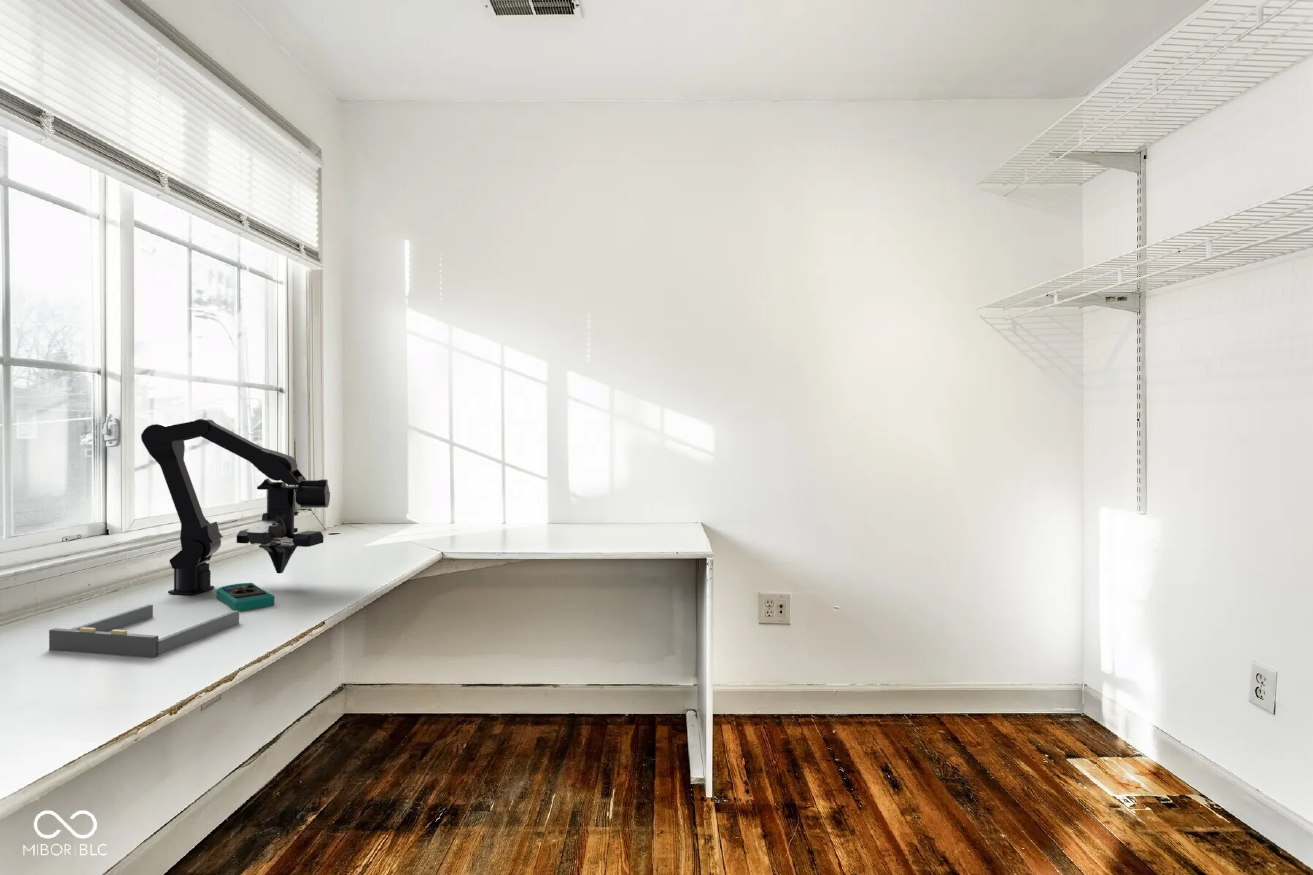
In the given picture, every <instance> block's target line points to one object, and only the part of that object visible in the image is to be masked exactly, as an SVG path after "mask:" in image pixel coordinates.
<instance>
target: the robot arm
mask: <svg viewBox="0 0 1313 875" xmlns="http://www.w3.org/2000/svg"><path fill="white" fill-rule="evenodd" d="M140 436H141V437H140V438H141V442H142V444H143V445H144V447H145V449H146V450H147V452H148V454H149V456H151V458H153V459H154V461H155V462H156V463H157V464H158V465H159V467H160V469H161V472H162V474H163V478H164V480H165V483H166V486H167V488H168V491H169V494H170V496H171V500H172V502H173V505H174V507H175V510H176V513H177V516H178V519H179V521H180V534H179V539H180V540H179V541H180V546H181V547H180V548H181V549H180V550H179V551H178V552H177V553H176V554H175V555H173V557H172V558H170V559H169V564H170V566H171V569H173V589H171V590H168V591H167V593H168V594H173V595H174V594H176V595H189V596H190V595H191V596H192V595H193V596H194V595H196V594H199V593H203V592H206V591H210V590H212V589H215V585H211V573H212V572H211V570H210V563H208V562H210V560H211V559H212V558H213V557H212V556H213V554H216V552H218V550H219V549H220V547H221V545H222V540H221V539H222V538H223V537H224V536H223V535H222V533H220V530H219V524H218V522H217V521H214V522H212V523H211V522H209V520H208V519H206V517H205V516H204V513H203V511H202V507H201V504H200V501H199V499H198V495H197V493H196V491H195V488H194V484H193V482H192V480H191V477H190V473H189V471H188V468H187V465H186V463H185V449H186V448H185V447H186V446H185V441H189V440H192V439H196V438H197V439H198V438H200V437H201V438H203V439H205V440H207V441H209V442H211V443H213V444H215V445H217V446H218V447H221V448H222V449H224V450H226V451H229V453H232V454H234V455H236V456H238V457H240V458H242V459H244V460H246V461H247V462H249V463H250V464H252V465H253V467H255V468H256V469H257V470H258V471H259V472H261V474H263V475H264V476H266V477H267V478H266V479H264V480H263V481H262V482H261V483H260V484H258V485H257V487H256V489H257V490H259V491H260V490H261V491H262V490H263V491H264V490H265V491H266V512H263V513H262V516H261V521H259V522H257V523H255V524H254V525H252V526H251V527H250V528H246V529H243V530H239V531H238V533H237V534H236V539H235V540H236V544H249V543H250V544H251V545H255V544H256V545H257V544H258V548H260V549H263V550H265V551H266V552H267V553H268V555H269V557H270V559H271V562H272V565H273V567H274V569H275V572H276V574H279V575H280V574H283V573H284V572H285V569H286V567H287V565H288V564H289V561H290V559H291V558H292V556H293V554H294V552H295V550H296V549H297V547H303V548H304V547H305V548H308V547H310V548H311V547H313V546H316V545H319V544H323V543H324V534H323V533H322V532H321V531H320V530H318V531H317V530H306V531H300V532H298V527H295V517H296V516H299V511H298V510H295V503H296V505H299V506H300V508H302V509H311V508H312V509H315V508H317V509H319V508H322V509H323V508H324V509H325V508H328V507H329V505H330V499H331V492H330V487H329V480H328V479H324V478H322V479H315V480H314V479H311V480H310V479H307V478H306V477H305V476H304V475H303V474H302V472H301V471H300V470H299V468H298V464H297V460H296V458H294V457H293V456H291V455H288V454H286V453H283V452H279V451H277V450H273V449H269V448H265V447H262V446H260V445H258V444H256V443H254V442H252V441H251V440H248V439H247V438H245V437H243V436H242V435H239V434H237V433H236V432H233V431H231V430H229V429H228V428H226V427H224V426H222V425H219V424H218V423H216V422H215V421H214V420H213V419H210V418H198V419H194V420H191V421H187V422H181V423H177V424H173V423H157V424H156V423H155V424H151V425H148V426H147V427H146V428H145V429H143V431H142V433H141V434H140Z"/></svg>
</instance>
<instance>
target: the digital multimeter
mask: <svg viewBox="0 0 1313 875" xmlns="http://www.w3.org/2000/svg"><path fill="white" fill-rule="evenodd" d="M215 598H216V599H217V600H219V601H221V602H222V603H224V604H226V606H228V607H229V608H230V609H232V611H234V610H237V611H239V612H245V611H251V610H257V609H263V608H269V607H273V606H274V605H275V596H274V595H273V594H272V593H270V592H268V591H266V590H264V589H262V588H261V587H259V585H258V586H257V584H255V583H253V582H243V583H234V584H229V585H224V586H221V587H218V588H217V589H216V597H215Z"/></svg>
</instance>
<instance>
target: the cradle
mask: <svg viewBox="0 0 1313 875" xmlns="http://www.w3.org/2000/svg"><path fill="white" fill-rule="evenodd" d="M153 617H154V605H153V604H146V605H143V606H139V607H136V608H133V609H130V610H126V611H123V612H120V613H117V614H114V615H113V614H112V615H111V616H107V617H103V618H102V619H97V620H95V621H92V622H88V623H84V624H82V625H79V626H76V627H75V626H74V627H72V628H59V627H54V628H50V629H49V630H48V650H49V651H56V652H57V651H58V652H59V651H60V652H70V653H71V652H72V653H83V654H96V655H98V654H99V655H108V656H109V655H110V656H122V657H133V658H134V657H135V658H148V659H154V658H157V657H159V656H162V655H164V654H167V653H170V652H171V651H174V650H177V649H179V648H182V647H185V646H187V645H189V644H191V643H193V642H196V641H198V640H201V639H203V638H207V637H208V636H211V635H213V634H216V633H218V632H221V631H223V630H225V629H228V628H230V627H233V626H235V625H237V624H240V611H237V610H232V611H229V612H227V613H223V614H220V615H218V616H215V617H213V618H211V619H210V618H209V619H208V620H205V621H203V622H200V623H197V624H195V625H192V626H189V627H187V628H185V629H181V630H179V631H175V632H174V633H171V634H168V635H165V636H163V637H160V638H159V635H153V634H152V635H151V634H141V633H140V634H139V633H128V631H127V630H126V629H125V630H124V629H121V628H125V627H127V626H130V625H134V624H136V623H138V622H143V621H145V620H148V619H151V618H153Z"/></svg>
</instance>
